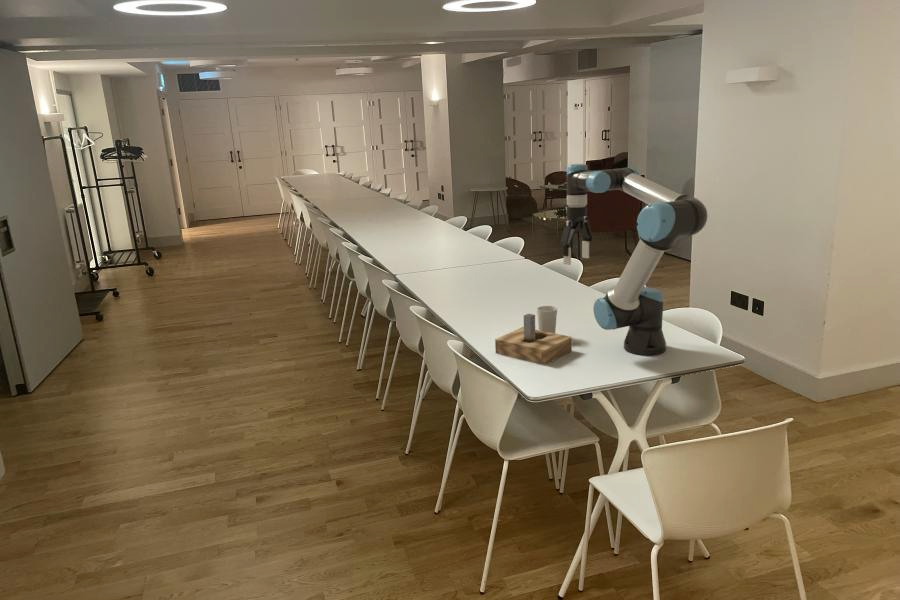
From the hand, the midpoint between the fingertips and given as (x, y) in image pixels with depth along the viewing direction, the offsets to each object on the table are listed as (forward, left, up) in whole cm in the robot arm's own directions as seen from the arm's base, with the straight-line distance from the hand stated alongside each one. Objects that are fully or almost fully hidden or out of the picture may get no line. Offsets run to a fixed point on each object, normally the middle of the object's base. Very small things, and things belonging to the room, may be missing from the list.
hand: (576, 261), depth 254 cm
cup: (+9, +7, -31) cm, 33 cm away
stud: (+4, +26, -31) cm, 41 cm away
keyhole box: (+4, +24, -31) cm, 39 cm away
